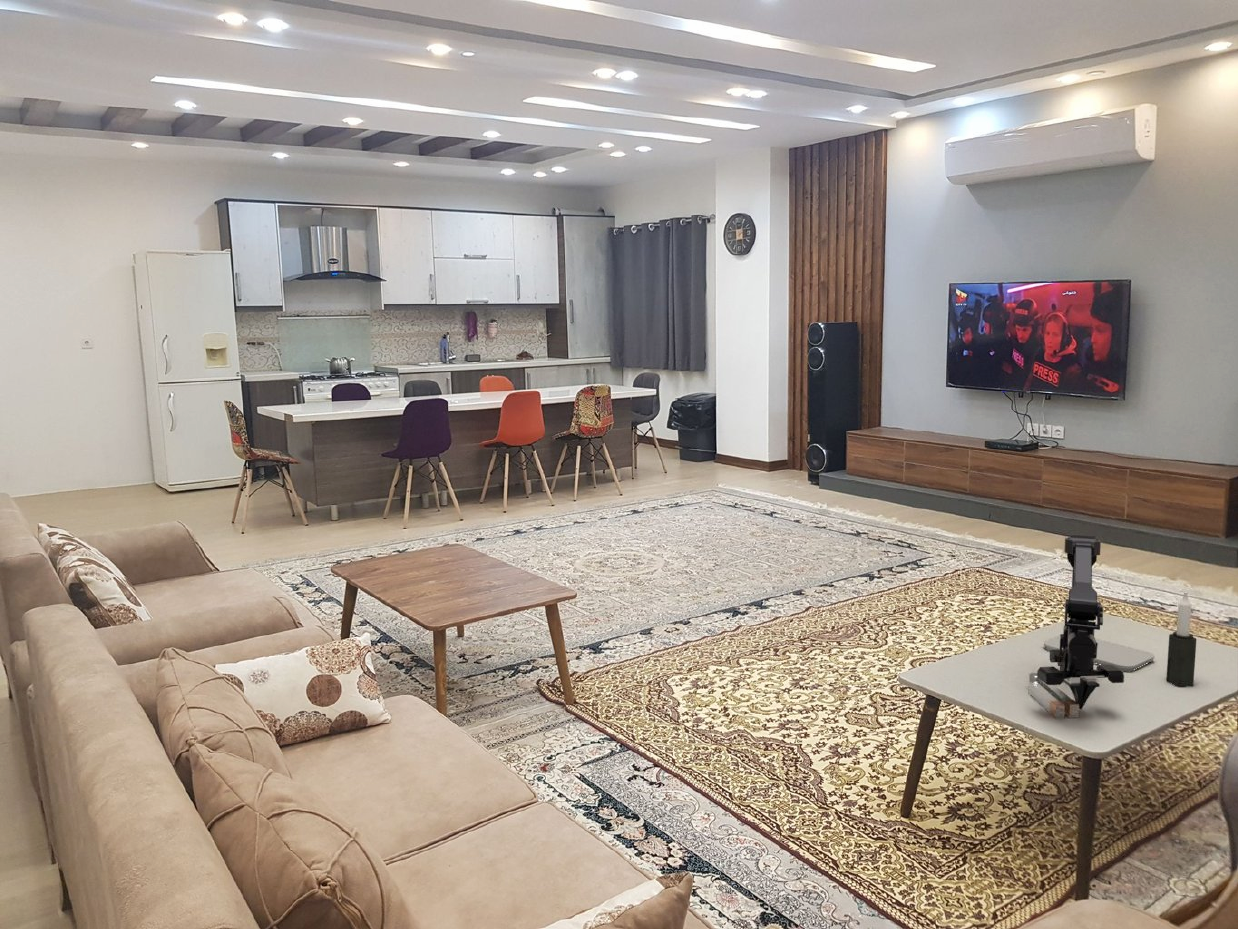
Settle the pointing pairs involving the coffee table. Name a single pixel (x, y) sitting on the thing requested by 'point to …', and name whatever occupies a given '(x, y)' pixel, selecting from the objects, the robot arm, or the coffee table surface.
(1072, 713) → the tongs arm
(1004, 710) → the coffee table surface
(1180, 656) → the candle
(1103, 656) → the tablet
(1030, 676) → the base
